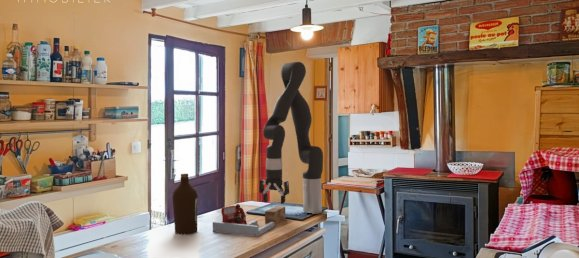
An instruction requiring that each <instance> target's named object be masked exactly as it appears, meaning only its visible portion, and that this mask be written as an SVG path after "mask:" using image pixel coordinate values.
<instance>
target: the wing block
mask: <svg viewBox="0 0 579 258" xmlns="http://www.w3.org/2000/svg"><path fill="white" fill-rule="evenodd" d="M285 220H286V206H282V205H281V206H280V205H276V206H274V207H271V208H269V209H267V210H265V211H264V225H266V224H268V223H270V222H274V224H275V225H278V224H279V223H281V222H283V221H285Z"/></svg>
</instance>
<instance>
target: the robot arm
mask: <svg viewBox="0 0 579 258" xmlns="http://www.w3.org/2000/svg"><path fill="white" fill-rule="evenodd" d="M306 70H307V69H306V66H305V64H304V63H302V62H301V61H293V62H287V63H284V64H283V65H282V66H281V68H280V77H281V80H282V84H283V85H284V91H283V92H281V95H280V96H279V97H278V99H277V100H276V101H275V104H274V107H273V110H272V113H271V115H270V117H269V118H268V120H267V121H266V123H265V124H264V126H263V131H262V134H263V135H262V136H263V137H264V138H265V140H269V141H270V140H271V141H272V144H270V145H267V147H266V149H265V150H266V159H265V178H266V179H260V180H259V187H258V188H259V190H258V191H259V193H260V194H262V195H263V197H262V198H263V200H262V201H263V202H264V203H268V202H269V197H268V193H269V191H277V192H278V193H279V194H280V204H281V205H284V204H285V203H286V196H287V195H289V194H290V184H289V181H288V180H287V181H283V159H282V152H283V151H282V149H283V147H284V146H283V145H284V142H285V137H286V131H285V128H284V126H283V125H281V124H282V123H284V122H285V121H286V120H287V117H288V115H289V112H290V111H291V118H292V122H293V126H294V131H295V136H296V142H297V150H298V151H297V152H298V157H299V159H300V161H301V163H303V164H306V165H308V166H307V170H305V171H303V173H302V203H303V204H302V206H303V207H302V208H303V209H302V210H303V211H304V212H308V213H312V214H311V215H316V214H317V215H318V214H321V213H323V212H322V210H323V208H322V207H323V206H322V205H323V204H322V201H323V200H322V174H323V171H324V168H323V167H324V152H323V150H322V148H321V147H320V146H317V145H316V146H315V145H311V142H310V141H311V140H310V137H309V136H310V135H309V134H310V128H311V125H312V122H313V121H312V120H313V119H312V114H311V109H310V106H309V104H308V101H307V100H306V99H305V98H304V97H303V95H302V94H301V92H300V90H299V89H300V87H301V84H302V83H303V81H304V80H305V77H306V73H307V71H306ZM265 185H266V187H265ZM303 211H302V212H303ZM304 212H303V213H304Z"/></svg>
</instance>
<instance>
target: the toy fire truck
mask: <svg viewBox="0 0 579 258" xmlns="http://www.w3.org/2000/svg"><path fill="white" fill-rule="evenodd" d="M220 213H221V215H222V217H221V218H222V219H221V220H222V221H221V222H226V223H235V224H245V225H246V224H248V223H247V216H246V213H245V211H244V209H243V207H241V205H240V204H239V203H237V204H236V205H229V206H224V207H222V208H221V211H220Z"/></svg>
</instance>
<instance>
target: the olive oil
mask: <svg viewBox="0 0 579 258" xmlns="http://www.w3.org/2000/svg"><path fill="white" fill-rule="evenodd" d="M189 179H190V178H189V174H188V173H181V174H180V184H179V185H177V187H176V188H175V189H174V191H173V193H172V197H171V198H172V207H173V208H172V209H173V221H174V232H175V234H176V235H184V234H185V235H192V234H195V233H197V232H198V203H199V196H198V191H197V189H196V188H195V187H193V185H191V183H190V182H189Z"/></svg>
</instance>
